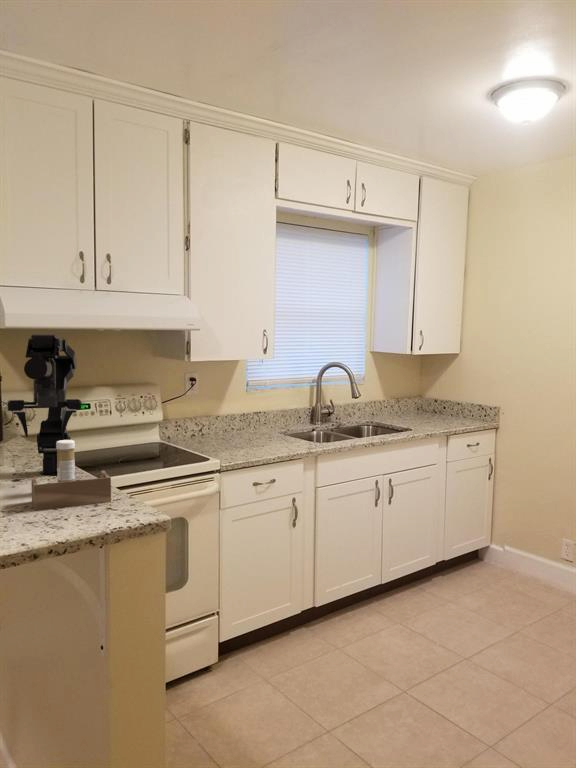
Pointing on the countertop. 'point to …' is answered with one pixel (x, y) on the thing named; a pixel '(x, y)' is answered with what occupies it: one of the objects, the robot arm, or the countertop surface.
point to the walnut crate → (71, 492)
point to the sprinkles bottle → (65, 460)
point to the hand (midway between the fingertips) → (44, 436)
